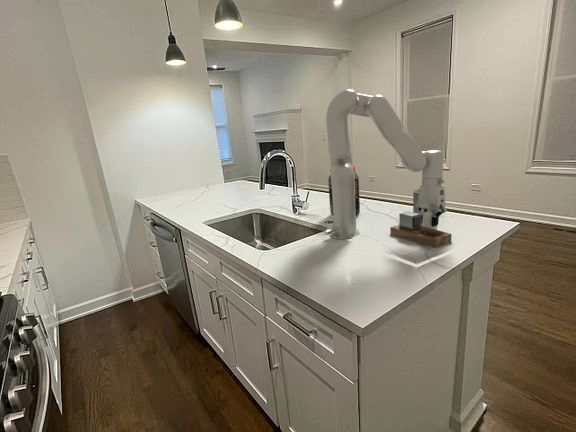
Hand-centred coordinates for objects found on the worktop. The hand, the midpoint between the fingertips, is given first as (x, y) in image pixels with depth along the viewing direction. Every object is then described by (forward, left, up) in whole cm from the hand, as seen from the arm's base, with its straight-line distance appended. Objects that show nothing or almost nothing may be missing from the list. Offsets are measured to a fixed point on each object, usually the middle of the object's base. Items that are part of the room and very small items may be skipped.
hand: (429, 224), depth 133 cm
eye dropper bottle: (0, 0, -3) cm, 3 cm away
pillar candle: (+14, +14, -4) cm, 20 cm away
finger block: (-10, +1, -2) cm, 11 cm away
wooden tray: (-10, -3, -3) cm, 11 cm away
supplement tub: (-7, +47, -4) cm, 47 cm away
